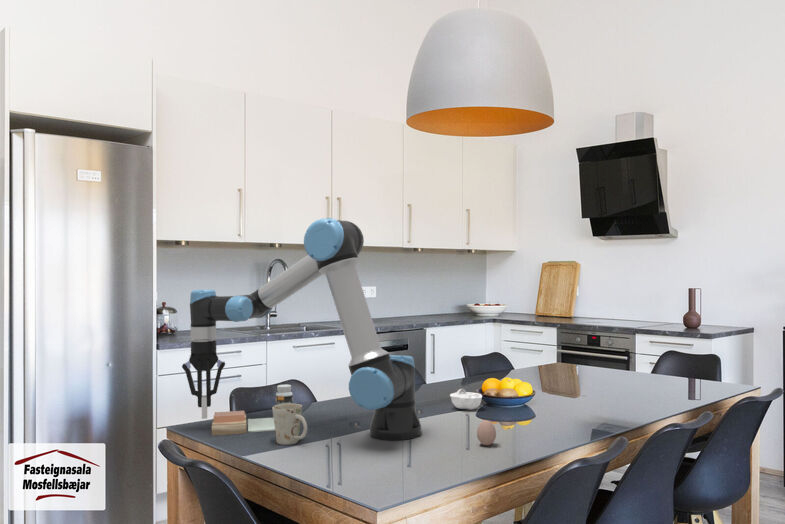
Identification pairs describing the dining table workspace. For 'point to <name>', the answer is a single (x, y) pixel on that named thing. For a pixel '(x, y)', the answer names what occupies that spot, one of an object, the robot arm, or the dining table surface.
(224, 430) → the tan wooden flat block
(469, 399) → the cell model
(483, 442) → the egg
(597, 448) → the dining table surface
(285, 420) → the mug
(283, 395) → the pill bottle
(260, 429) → the mat
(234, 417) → the tile
